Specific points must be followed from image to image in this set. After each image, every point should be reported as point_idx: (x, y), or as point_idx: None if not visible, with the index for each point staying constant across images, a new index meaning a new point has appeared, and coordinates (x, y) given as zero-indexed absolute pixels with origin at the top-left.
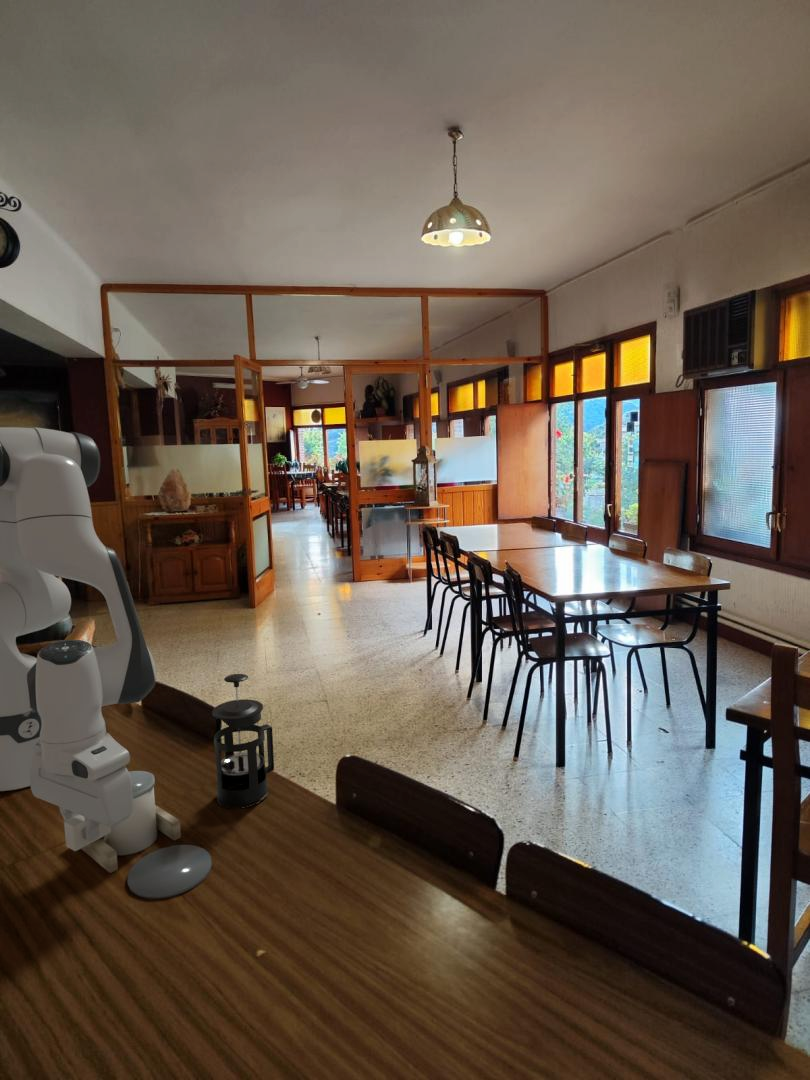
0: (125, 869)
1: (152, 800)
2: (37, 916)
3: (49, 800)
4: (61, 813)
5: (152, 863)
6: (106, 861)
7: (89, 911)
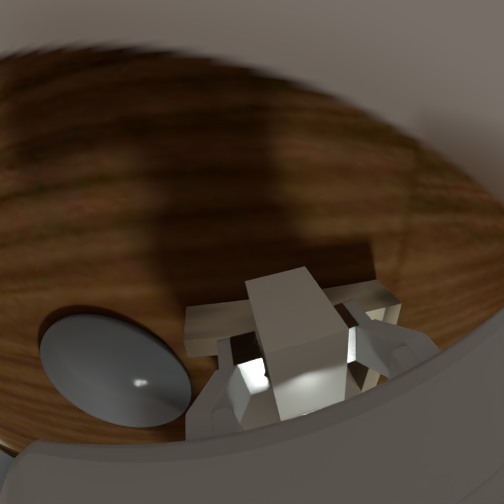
0: (178, 333)
1: None
2: (132, 110)
3: (489, 332)
4: (410, 332)
5: (146, 374)
6: (202, 320)
7: (67, 222)
